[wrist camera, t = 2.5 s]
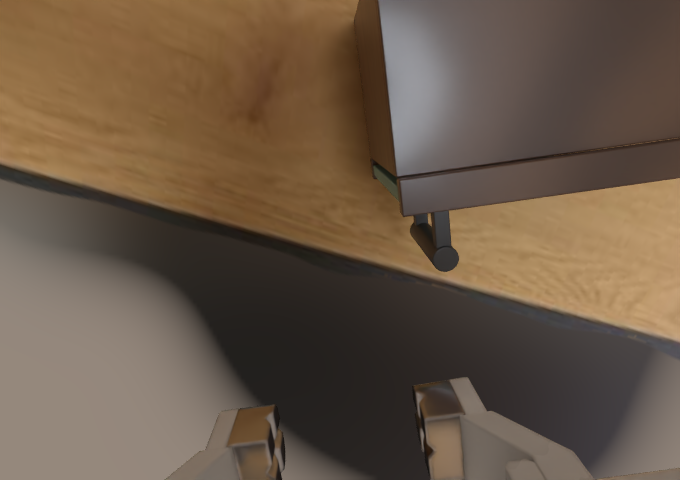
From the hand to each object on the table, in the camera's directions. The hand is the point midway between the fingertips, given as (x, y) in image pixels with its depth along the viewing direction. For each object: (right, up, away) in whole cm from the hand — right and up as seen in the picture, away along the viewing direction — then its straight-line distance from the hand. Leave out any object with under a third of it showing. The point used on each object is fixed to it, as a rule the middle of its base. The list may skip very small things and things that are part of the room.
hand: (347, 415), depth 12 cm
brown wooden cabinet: (+10, +17, +22) cm, 30 cm away
